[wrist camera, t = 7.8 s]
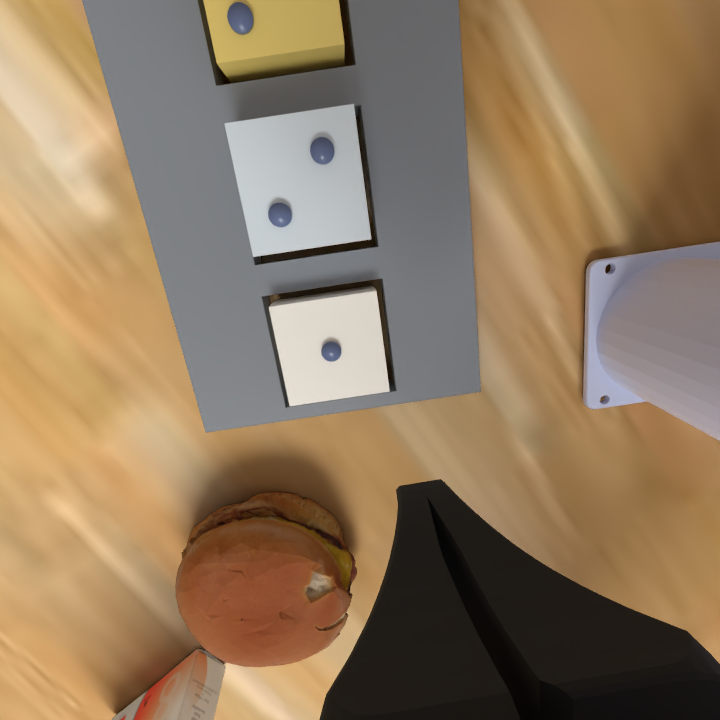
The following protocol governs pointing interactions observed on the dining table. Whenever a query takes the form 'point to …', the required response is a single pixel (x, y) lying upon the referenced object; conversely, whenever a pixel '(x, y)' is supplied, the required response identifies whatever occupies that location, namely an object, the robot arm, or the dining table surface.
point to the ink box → (181, 692)
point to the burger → (266, 580)
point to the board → (226, 217)
